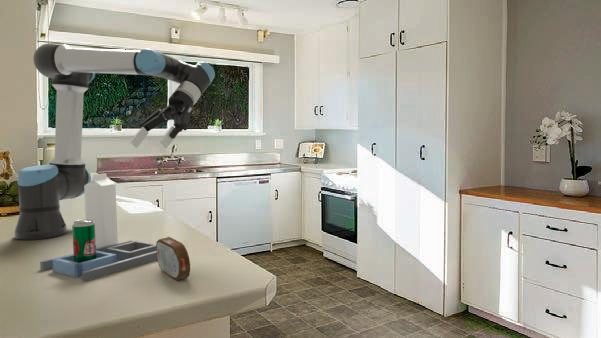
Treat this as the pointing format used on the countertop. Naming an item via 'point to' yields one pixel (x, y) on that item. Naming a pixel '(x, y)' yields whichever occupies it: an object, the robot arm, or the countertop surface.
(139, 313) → the countertop surface
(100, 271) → the grey railed frame
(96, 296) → the countertop surface
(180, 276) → the tin
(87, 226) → the soda can
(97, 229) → the milk
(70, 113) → the robot arm
